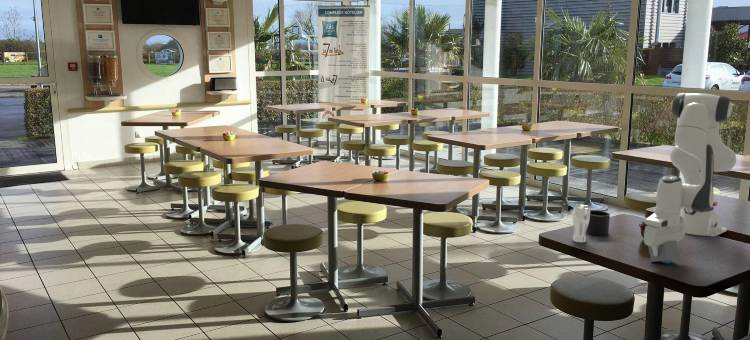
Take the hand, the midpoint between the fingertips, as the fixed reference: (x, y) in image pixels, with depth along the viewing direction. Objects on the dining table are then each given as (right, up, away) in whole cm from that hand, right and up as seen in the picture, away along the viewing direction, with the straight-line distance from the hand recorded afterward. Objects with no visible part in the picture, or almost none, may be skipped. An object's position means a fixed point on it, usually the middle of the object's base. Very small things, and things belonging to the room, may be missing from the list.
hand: (663, 253), depth 244 cm
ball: (+1, -1, -1) cm, 2 cm away
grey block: (+1, -2, -1) cm, 2 cm away
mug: (-11, +4, +39) cm, 41 cm away
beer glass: (-24, +2, +27) cm, 36 cm away
